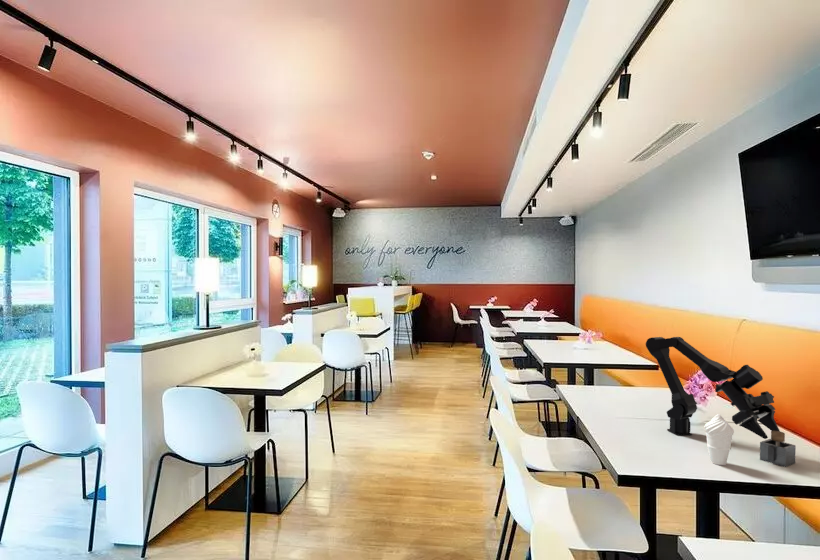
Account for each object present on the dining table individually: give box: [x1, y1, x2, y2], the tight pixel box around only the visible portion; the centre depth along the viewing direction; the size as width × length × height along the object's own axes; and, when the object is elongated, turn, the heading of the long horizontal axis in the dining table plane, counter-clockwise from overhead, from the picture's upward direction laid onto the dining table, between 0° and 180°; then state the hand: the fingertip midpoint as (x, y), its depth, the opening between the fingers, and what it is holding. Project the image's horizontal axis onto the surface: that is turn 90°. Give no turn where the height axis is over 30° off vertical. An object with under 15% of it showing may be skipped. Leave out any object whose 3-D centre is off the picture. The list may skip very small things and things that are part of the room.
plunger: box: [770, 430, 786, 447], centre depth 156 cm, size 5×5×8 cm
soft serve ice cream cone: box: [703, 413, 735, 466], centre depth 154 cm, size 8×8×16 cm
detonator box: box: [759, 438, 797, 468], centre depth 156 cm, size 7×8×6 cm
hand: (773, 436), depth 158 cm, fingers open, 9 cm apart
